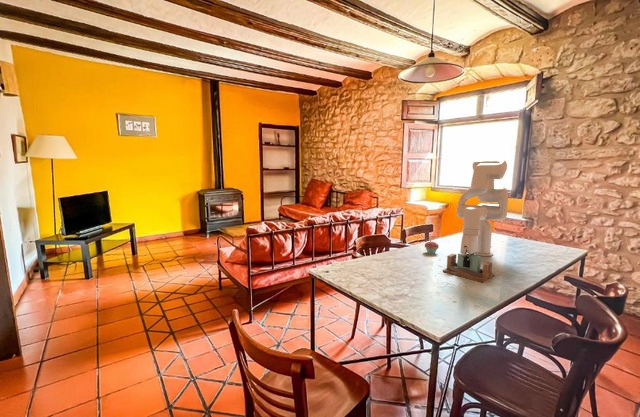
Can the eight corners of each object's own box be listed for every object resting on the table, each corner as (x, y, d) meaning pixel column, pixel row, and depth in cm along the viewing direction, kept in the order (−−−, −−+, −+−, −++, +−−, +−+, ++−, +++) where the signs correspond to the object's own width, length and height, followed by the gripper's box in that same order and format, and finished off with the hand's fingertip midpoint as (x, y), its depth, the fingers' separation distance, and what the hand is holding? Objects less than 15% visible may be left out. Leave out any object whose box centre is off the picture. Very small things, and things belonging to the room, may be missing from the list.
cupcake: (433, 255, 185) (434, 236, 183) (421, 252, 192) (422, 234, 190) (440, 252, 191) (441, 234, 189) (428, 250, 197) (429, 232, 195)
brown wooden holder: (455, 265, 166) (456, 252, 165) (494, 275, 151) (495, 260, 150) (442, 271, 157) (443, 257, 156) (483, 282, 142) (484, 266, 141)
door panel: (460, 268, 159) (461, 252, 158) (480, 273, 152) (481, 256, 150) (456, 270, 157) (457, 253, 155) (476, 275, 149) (478, 258, 148)
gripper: (470, 228, 159) (468, 260, 162) (455, 232, 148) (453, 267, 151) (485, 230, 154) (483, 264, 156) (471, 235, 143) (468, 271, 145)
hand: (468, 265), depth 154 cm, fingers open, 5 cm apart
